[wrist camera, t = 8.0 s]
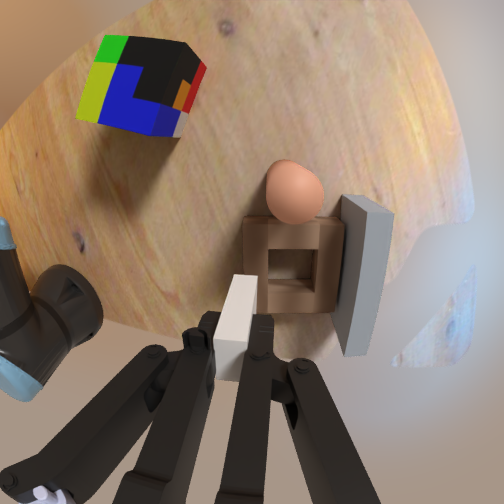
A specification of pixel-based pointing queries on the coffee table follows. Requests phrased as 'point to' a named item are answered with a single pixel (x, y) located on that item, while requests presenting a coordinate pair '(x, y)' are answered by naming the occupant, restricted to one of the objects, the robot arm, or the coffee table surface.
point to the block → (294, 237)
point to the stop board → (361, 271)
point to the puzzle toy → (142, 85)
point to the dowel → (293, 192)
